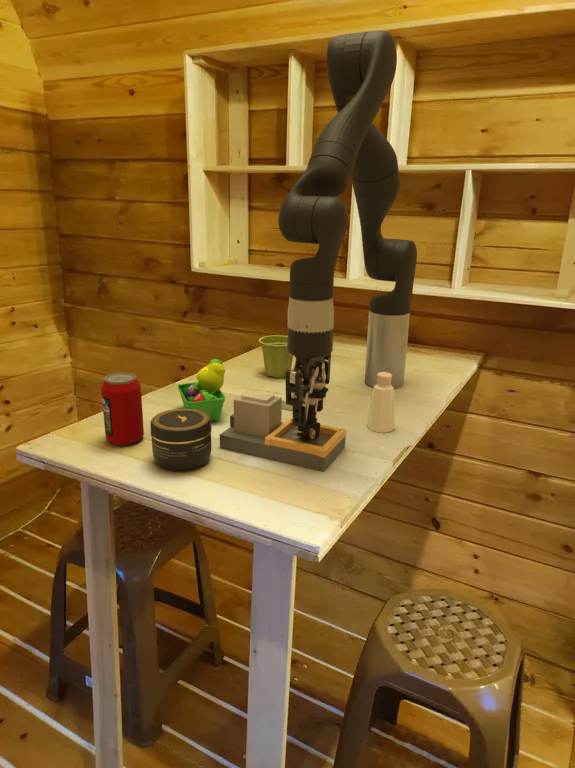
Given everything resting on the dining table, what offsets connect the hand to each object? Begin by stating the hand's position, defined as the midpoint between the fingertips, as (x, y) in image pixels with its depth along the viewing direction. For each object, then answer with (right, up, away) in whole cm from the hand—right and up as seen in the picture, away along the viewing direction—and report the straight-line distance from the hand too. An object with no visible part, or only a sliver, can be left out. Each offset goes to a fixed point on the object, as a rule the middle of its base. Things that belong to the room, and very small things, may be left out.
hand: (308, 417), depth 101 cm
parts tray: (-6, -1, +16) cm, 17 cm away
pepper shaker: (+15, -3, +13) cm, 20 cm away
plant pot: (-6, +8, +43) cm, 44 cm away
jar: (-21, -7, -2) cm, 23 cm away
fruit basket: (-20, -1, +18) cm, 27 cm away
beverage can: (-33, -5, +6) cm, 34 cm away
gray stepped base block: (-4, -6, +3) cm, 8 cm away
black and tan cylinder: (-1, -4, 0) cm, 4 cm away
